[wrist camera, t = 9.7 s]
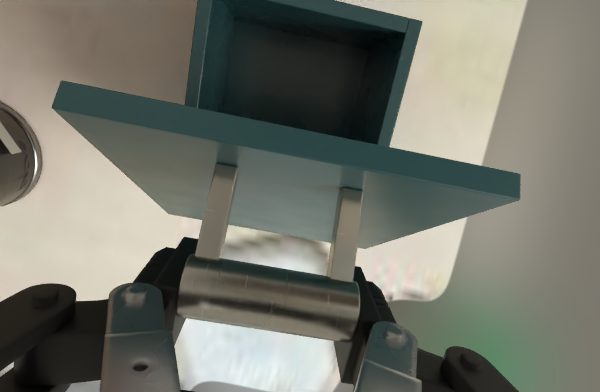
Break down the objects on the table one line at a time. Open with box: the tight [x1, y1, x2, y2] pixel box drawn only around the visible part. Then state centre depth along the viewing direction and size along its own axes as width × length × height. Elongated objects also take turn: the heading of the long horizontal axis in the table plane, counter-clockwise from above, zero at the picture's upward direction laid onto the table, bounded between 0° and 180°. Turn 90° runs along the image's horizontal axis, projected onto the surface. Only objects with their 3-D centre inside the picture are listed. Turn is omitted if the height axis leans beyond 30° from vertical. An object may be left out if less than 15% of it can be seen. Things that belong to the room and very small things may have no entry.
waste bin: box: [185, 0, 422, 147], centre depth 28 cm, size 14×13×11 cm
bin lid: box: [52, 81, 520, 343], centre depth 17 cm, size 14×13×5 cm
